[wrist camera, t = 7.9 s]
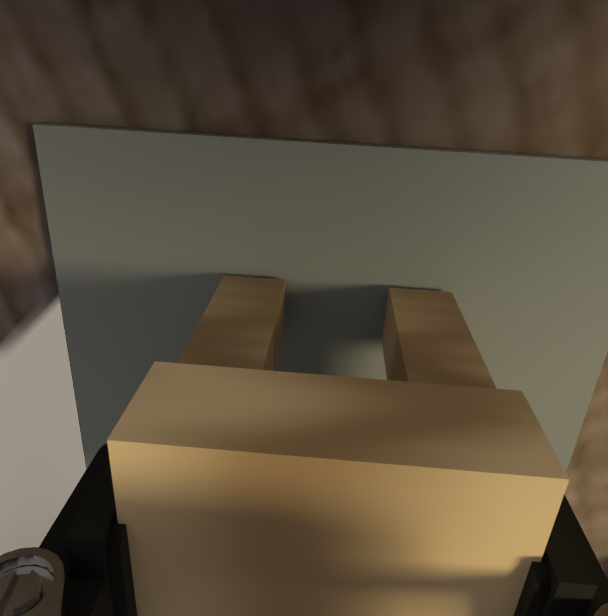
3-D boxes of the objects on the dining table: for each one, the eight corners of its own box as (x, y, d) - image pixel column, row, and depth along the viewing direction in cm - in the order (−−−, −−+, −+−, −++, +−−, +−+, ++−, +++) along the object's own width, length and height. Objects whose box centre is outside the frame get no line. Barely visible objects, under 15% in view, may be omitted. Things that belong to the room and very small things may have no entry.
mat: (661, 162, 12) (671, 165, 11) (532, 546, 17) (536, 557, 17) (41, 122, 12) (32, 124, 12) (99, 508, 17) (94, 518, 17)
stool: (464, 283, 13) (568, 479, 7) (425, 476, 15) (478, 739, 9) (213, 264, 13) (107, 440, 7) (217, 458, 15) (142, 705, 10)
